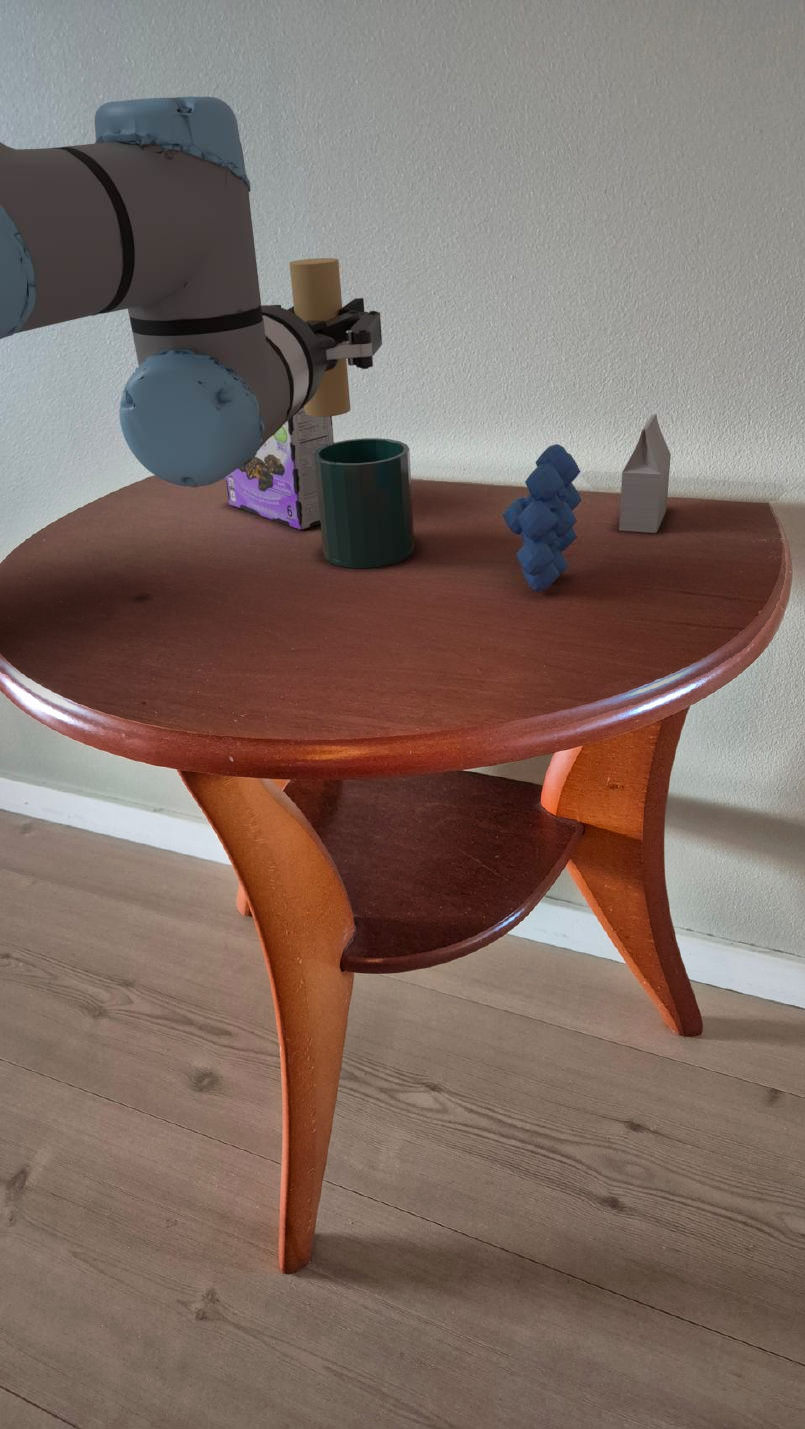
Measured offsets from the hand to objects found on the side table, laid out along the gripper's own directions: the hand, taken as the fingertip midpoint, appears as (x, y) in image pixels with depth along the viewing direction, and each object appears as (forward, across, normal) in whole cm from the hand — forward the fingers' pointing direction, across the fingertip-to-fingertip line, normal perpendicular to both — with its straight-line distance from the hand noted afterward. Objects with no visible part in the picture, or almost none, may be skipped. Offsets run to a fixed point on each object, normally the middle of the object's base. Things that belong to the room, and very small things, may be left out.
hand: (334, 315), depth 87 cm
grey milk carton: (+9, +28, -22) cm, 37 cm away
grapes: (-7, +18, -22) cm, 30 cm away
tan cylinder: (-5, 0, -7) cm, 9 cm away
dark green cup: (0, +2, -22) cm, 22 cm away
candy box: (+12, -11, -22) cm, 27 cm away
